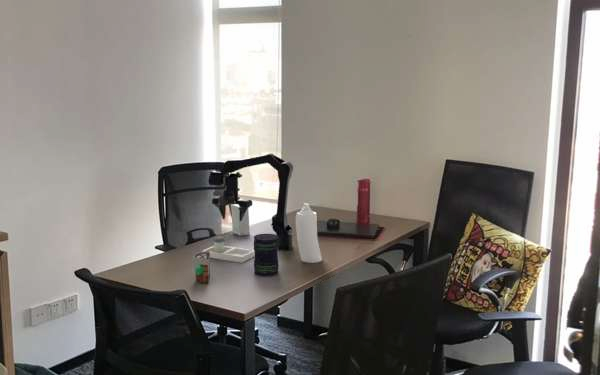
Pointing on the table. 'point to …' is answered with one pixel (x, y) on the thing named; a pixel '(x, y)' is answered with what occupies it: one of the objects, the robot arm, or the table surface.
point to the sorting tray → (232, 254)
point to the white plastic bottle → (307, 235)
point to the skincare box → (237, 225)
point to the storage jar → (266, 255)
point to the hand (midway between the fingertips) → (232, 220)
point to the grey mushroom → (219, 244)
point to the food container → (202, 266)
